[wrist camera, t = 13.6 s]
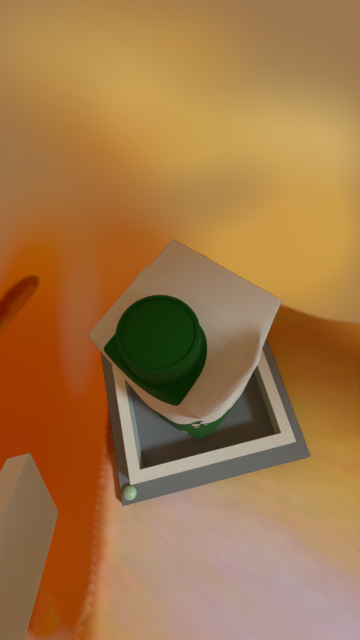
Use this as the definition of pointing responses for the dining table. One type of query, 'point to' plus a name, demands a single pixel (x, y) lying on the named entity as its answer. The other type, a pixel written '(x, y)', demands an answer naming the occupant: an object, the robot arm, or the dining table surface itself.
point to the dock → (212, 451)
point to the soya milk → (187, 337)
